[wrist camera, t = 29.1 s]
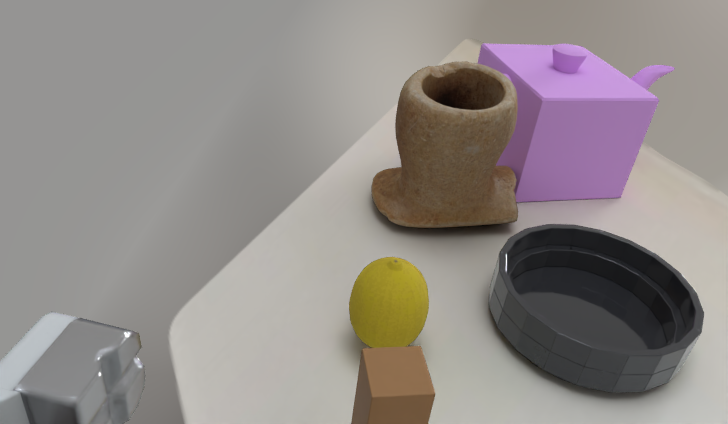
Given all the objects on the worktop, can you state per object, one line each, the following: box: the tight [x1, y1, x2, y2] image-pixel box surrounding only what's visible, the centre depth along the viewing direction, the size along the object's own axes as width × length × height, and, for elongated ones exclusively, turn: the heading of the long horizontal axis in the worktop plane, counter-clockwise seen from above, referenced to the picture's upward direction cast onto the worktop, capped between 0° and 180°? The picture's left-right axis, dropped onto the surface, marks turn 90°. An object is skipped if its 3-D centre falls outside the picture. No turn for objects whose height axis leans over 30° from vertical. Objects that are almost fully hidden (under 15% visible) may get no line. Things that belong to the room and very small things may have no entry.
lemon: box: [349, 257, 429, 348], centre depth 43 cm, size 6×6×8 cm
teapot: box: [478, 43, 675, 202], centre depth 68 cm, size 15×25×14 cm, turn 103°
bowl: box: [489, 224, 704, 392], centre depth 49 cm, size 15×15×4 cm
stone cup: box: [372, 61, 518, 228], centre depth 57 cm, size 15×12×15 cm
